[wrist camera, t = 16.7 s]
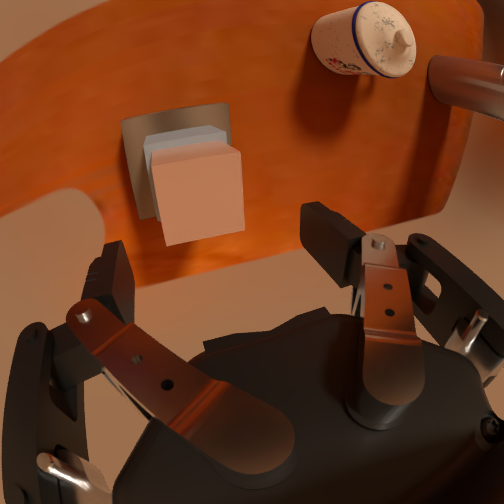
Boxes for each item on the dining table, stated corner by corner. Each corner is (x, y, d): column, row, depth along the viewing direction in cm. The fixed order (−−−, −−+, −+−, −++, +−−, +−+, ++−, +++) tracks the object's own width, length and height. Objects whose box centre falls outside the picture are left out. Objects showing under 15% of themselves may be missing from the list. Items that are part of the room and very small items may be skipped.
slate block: (210, 125, 24) (226, 131, 19) (216, 184, 27) (232, 206, 22) (145, 136, 22) (143, 145, 17) (156, 196, 25) (157, 221, 21)
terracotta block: (220, 140, 19) (240, 152, 15) (225, 202, 22) (244, 230, 18) (151, 151, 18) (151, 166, 14) (162, 214, 20) (166, 246, 16)
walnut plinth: (219, 102, 26) (228, 103, 23) (226, 188, 32) (236, 200, 28) (125, 118, 24) (120, 121, 21) (141, 206, 29) (139, 220, 26)
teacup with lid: (311, 74, 27) (379, 74, 18) (304, 8, 22) (368, -15, 13) (382, 80, 30) (449, 89, 21) (377, 24, 25) (444, 19, 16)
